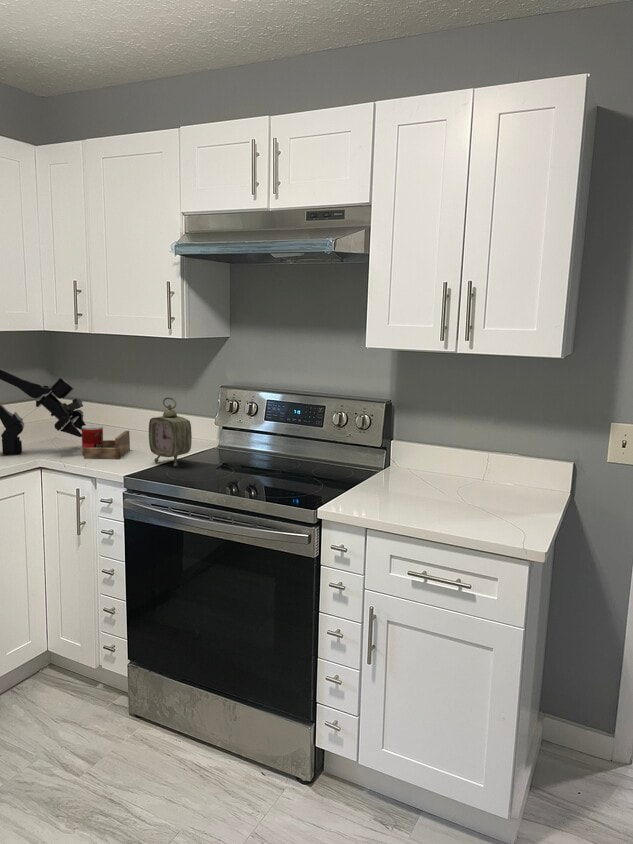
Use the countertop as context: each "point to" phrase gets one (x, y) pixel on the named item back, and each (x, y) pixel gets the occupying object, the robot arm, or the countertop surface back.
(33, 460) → the countertop surface
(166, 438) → the tabletop clock
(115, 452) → the cradle
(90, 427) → the canned food
